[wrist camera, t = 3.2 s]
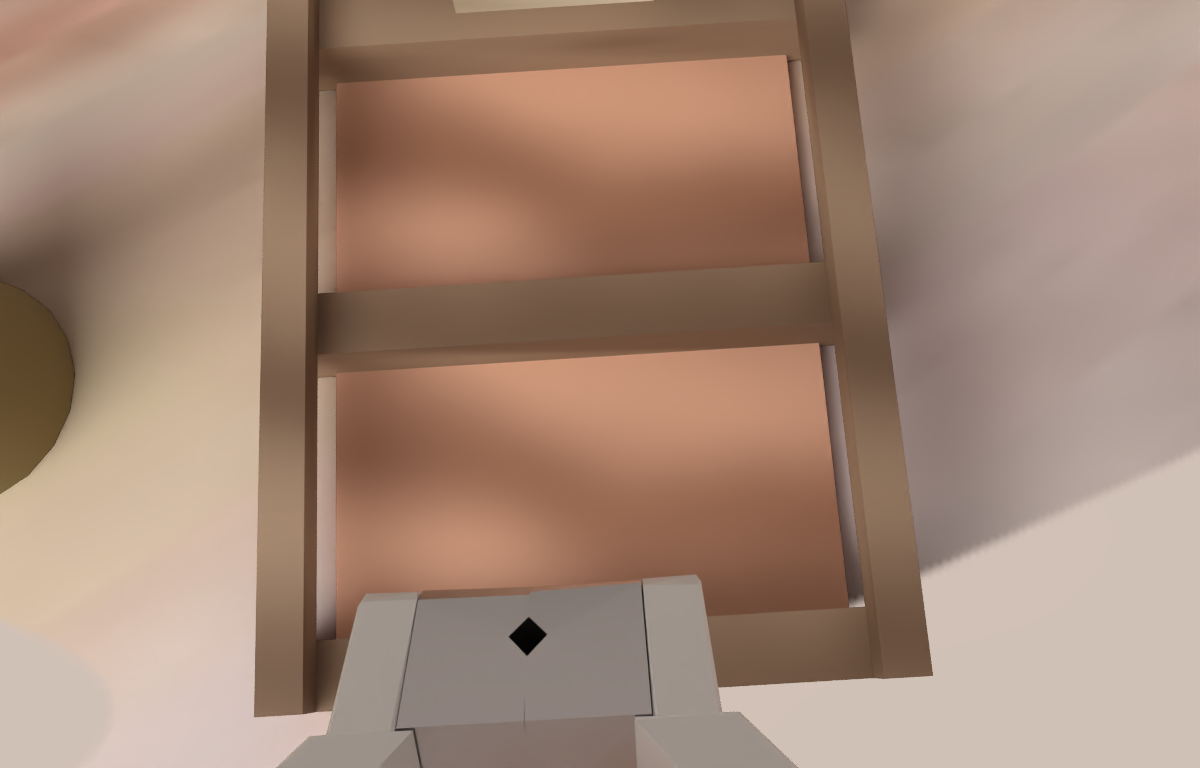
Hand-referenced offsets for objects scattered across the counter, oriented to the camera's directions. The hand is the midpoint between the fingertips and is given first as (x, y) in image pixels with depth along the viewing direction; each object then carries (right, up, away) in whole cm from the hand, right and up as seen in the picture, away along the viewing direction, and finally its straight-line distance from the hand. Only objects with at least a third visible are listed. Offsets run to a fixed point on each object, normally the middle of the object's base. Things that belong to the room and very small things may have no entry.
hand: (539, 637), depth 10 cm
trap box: (0, +10, +19) cm, 21 cm away
